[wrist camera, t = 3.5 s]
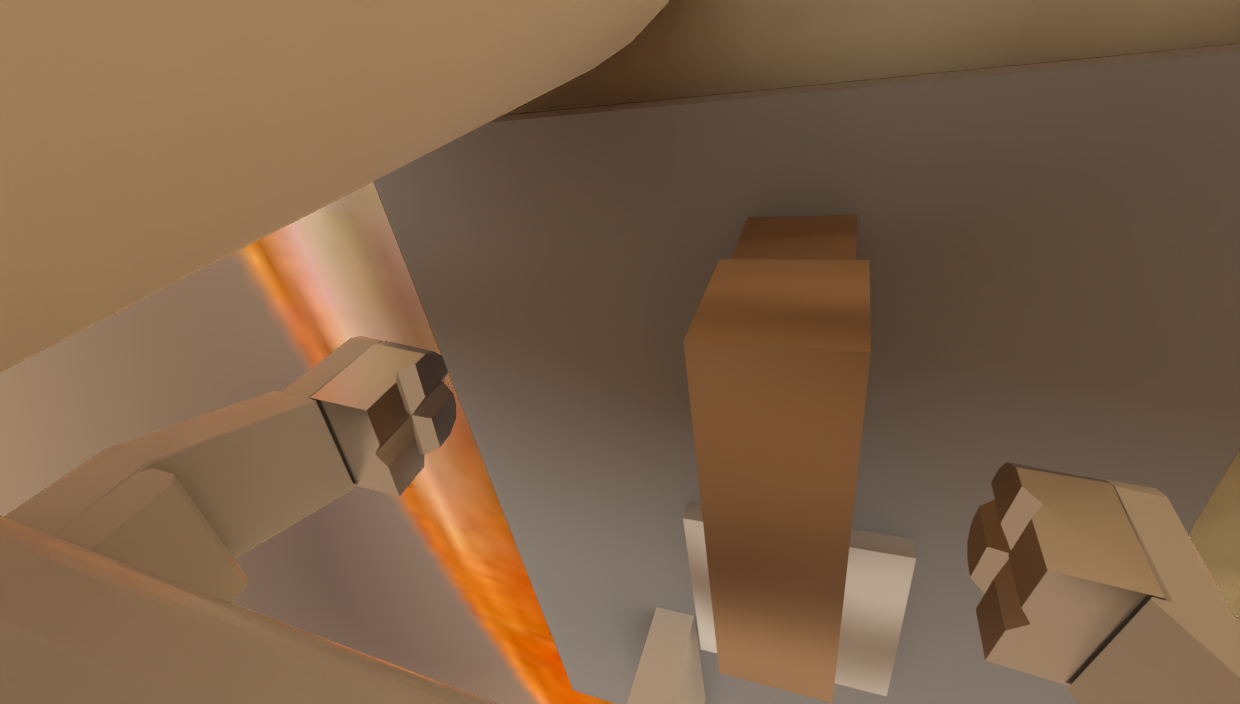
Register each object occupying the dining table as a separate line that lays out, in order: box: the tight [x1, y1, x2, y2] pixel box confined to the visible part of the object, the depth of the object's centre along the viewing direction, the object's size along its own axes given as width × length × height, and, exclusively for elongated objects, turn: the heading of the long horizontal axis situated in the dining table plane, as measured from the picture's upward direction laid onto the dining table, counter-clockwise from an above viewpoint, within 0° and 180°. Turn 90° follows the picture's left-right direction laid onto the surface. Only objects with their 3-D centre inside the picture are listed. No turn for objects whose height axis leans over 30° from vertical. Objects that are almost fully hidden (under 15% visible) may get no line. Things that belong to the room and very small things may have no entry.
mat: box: [373, 44, 1240, 704], centre depth 17 cm, size 26×18×1 cm
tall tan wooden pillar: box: [683, 215, 916, 703], centre depth 14 cm, size 16×6×4 cm, turn 9°
